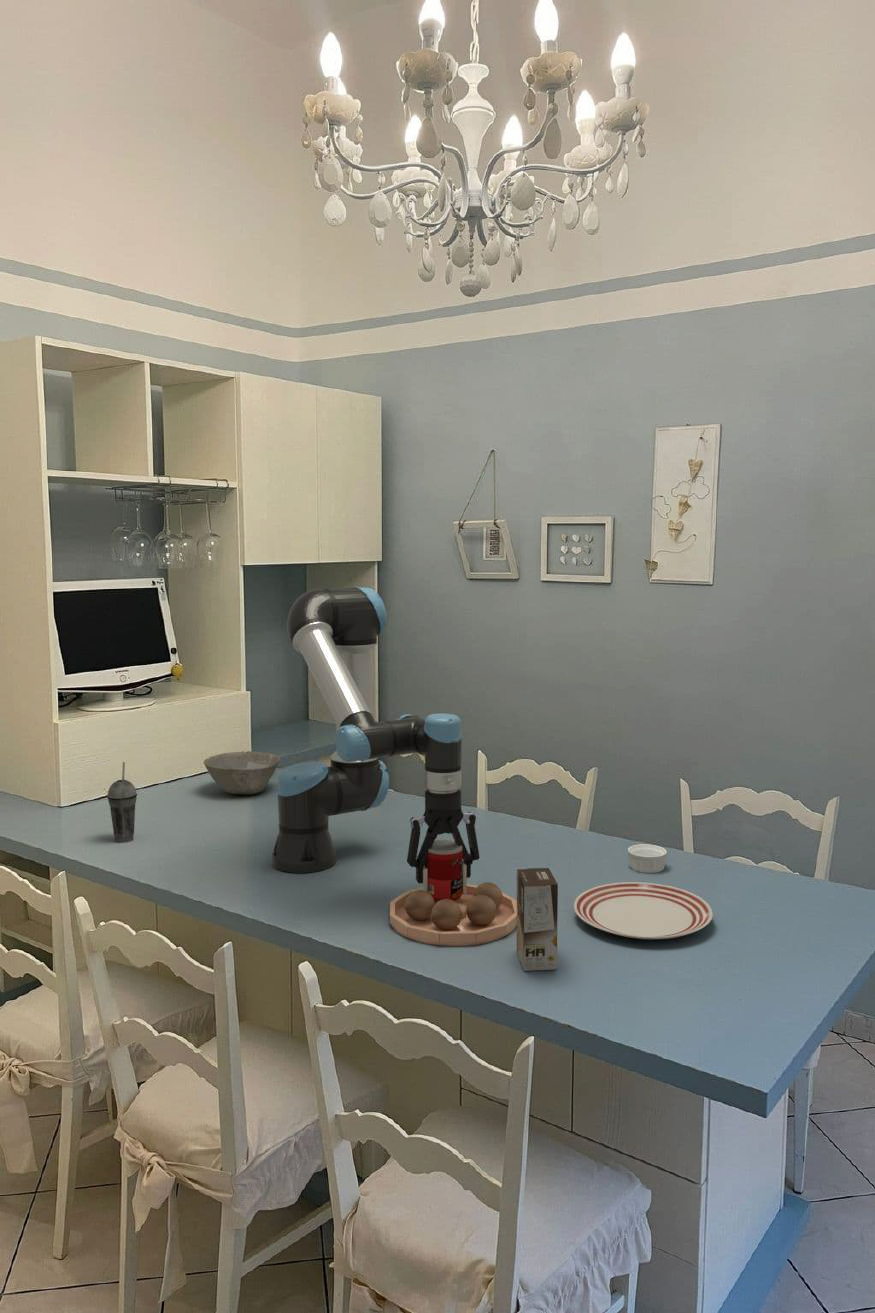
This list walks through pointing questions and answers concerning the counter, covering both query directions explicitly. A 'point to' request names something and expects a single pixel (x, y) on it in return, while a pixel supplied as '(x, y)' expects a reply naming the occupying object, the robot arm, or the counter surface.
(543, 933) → the coffee box
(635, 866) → the ramekin
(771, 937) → the counter surface
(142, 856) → the counter surface
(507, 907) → the tray
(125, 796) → the beverage cup
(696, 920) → the dinner plate
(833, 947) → the counter surface
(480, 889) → the seated beads
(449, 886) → the canned food
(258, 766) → the ceramic bowl
